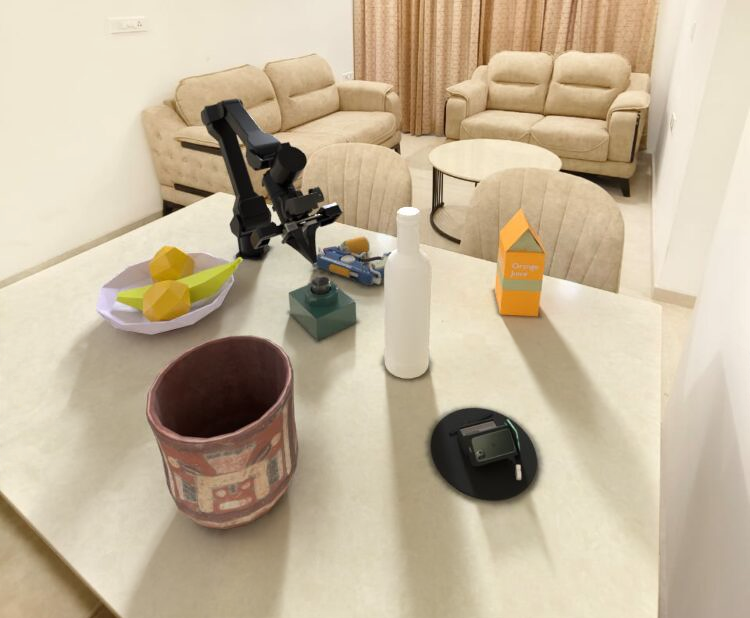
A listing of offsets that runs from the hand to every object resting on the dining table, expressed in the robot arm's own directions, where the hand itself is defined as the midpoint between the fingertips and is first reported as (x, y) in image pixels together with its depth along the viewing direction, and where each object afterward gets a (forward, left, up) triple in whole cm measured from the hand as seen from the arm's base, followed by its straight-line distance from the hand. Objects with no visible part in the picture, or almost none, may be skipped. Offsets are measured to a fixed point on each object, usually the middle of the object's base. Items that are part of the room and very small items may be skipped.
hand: (314, 263), depth 99 cm
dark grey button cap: (+1, -1, -5) cm, 6 cm away
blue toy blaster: (+3, +20, -12) cm, 23 cm away
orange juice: (+39, +13, -12) cm, 43 cm away
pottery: (+2, -38, -12) cm, 40 cm away
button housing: (+1, -1, -12) cm, 12 cm away
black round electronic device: (+34, -25, -12) cm, 44 cm away
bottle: (+20, -10, -12) cm, 26 cm away
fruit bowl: (-30, -5, -12) cm, 32 cm away
